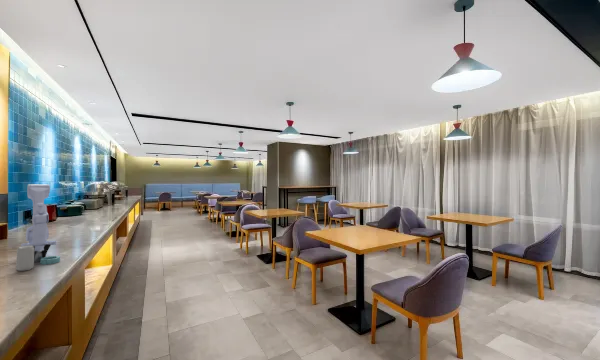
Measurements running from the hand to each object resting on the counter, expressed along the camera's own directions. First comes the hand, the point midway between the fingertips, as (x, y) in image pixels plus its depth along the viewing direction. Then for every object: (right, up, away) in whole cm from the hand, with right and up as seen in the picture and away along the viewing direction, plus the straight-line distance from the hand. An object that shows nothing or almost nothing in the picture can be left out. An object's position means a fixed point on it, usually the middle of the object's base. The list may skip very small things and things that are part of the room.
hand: (38, 258), depth 152 cm
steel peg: (0, -2, 0) cm, 2 cm away
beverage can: (+6, -2, -13) cm, 14 cm away
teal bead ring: (+7, -2, -1) cm, 8 cm away
